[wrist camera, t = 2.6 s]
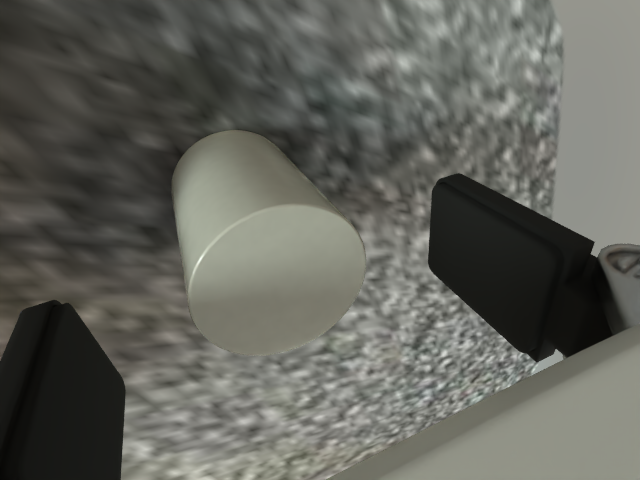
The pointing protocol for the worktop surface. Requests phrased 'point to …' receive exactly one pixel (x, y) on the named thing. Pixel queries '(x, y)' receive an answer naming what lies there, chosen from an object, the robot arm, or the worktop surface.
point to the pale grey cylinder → (260, 246)
